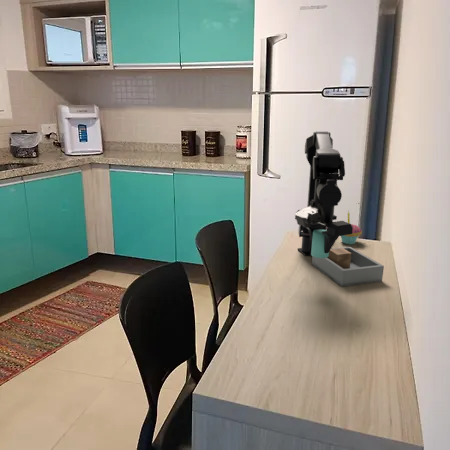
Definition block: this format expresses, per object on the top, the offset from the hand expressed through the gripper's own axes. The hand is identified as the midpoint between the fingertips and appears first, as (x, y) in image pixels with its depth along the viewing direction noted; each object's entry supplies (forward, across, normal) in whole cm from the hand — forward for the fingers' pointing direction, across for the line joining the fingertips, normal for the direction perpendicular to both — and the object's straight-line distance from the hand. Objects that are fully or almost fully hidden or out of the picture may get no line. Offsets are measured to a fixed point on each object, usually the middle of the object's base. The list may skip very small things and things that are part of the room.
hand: (320, 250), depth 128 cm
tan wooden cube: (+10, -7, +14) cm, 19 cm away
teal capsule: (+2, 0, 0) cm, 2 cm away
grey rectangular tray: (+11, -3, +14) cm, 18 cm away
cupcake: (+11, -26, +36) cm, 46 cm away
